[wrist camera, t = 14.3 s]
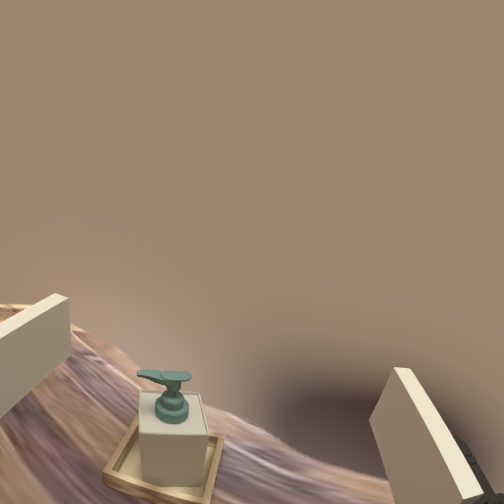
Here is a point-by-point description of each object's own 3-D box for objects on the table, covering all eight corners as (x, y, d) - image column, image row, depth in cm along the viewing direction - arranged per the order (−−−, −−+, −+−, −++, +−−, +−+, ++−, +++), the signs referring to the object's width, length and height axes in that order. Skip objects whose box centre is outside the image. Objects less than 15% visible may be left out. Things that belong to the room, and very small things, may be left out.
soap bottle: (140, 445, 41) (138, 351, 37) (193, 447, 43) (204, 356, 39) (141, 485, 33) (135, 394, 29) (201, 486, 35) (216, 397, 31)
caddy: (222, 449, 45) (225, 434, 44) (206, 516, 31) (209, 505, 30) (139, 426, 46) (138, 411, 45) (106, 485, 31) (102, 471, 30)
